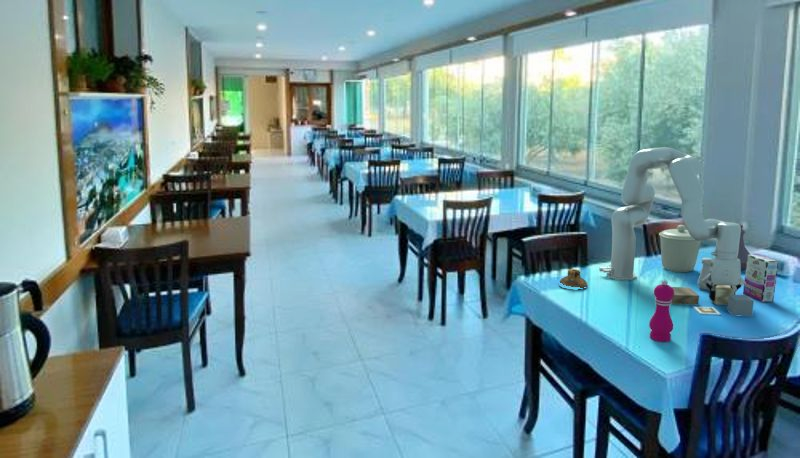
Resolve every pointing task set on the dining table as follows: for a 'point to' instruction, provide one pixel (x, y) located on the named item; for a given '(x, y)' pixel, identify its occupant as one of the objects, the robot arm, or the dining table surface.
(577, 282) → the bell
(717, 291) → the maple cube
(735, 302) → the grey cube
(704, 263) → the salt shaker
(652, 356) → the dining table surface
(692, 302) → the walnut block
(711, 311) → the card
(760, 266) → the candy bar box
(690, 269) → the canister
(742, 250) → the flask
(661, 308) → the pepper mill
